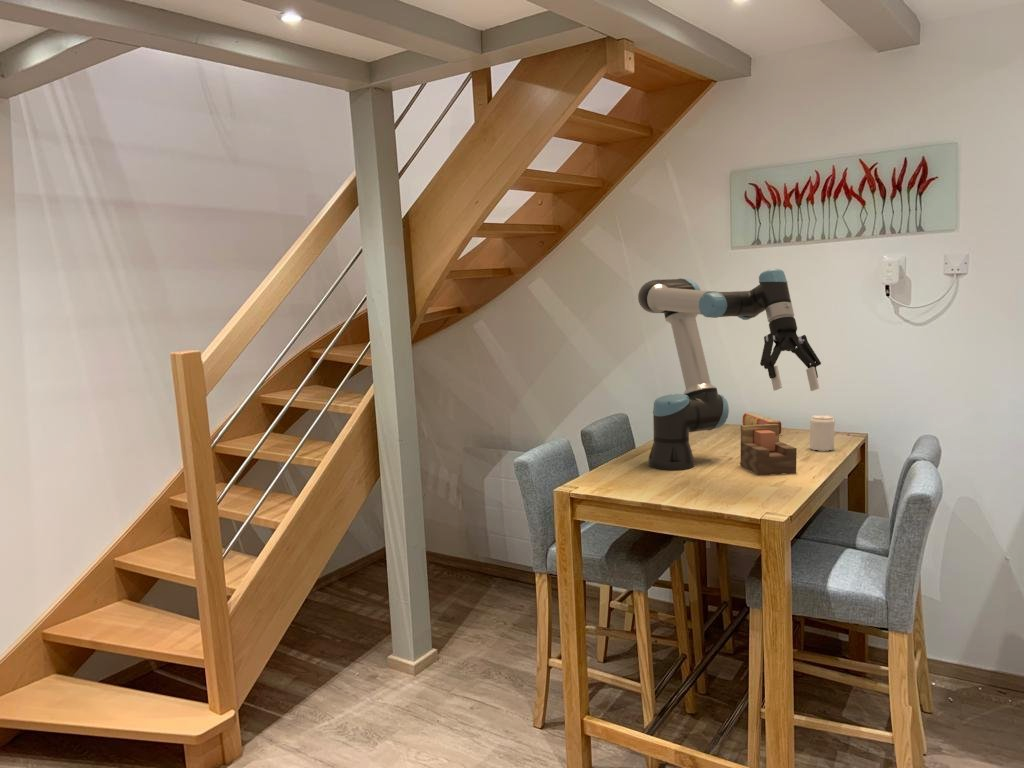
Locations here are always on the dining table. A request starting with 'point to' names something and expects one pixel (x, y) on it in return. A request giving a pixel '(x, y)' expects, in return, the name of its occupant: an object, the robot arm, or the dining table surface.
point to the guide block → (766, 453)
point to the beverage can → (822, 432)
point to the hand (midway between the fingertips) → (796, 389)
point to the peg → (764, 438)
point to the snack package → (759, 420)
